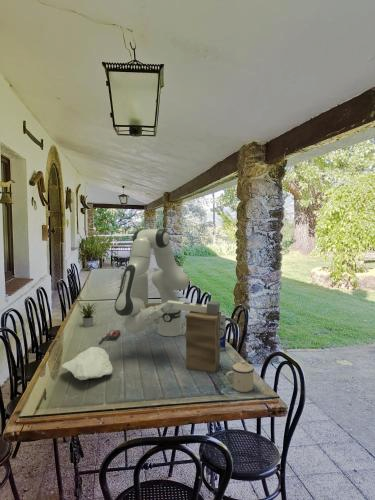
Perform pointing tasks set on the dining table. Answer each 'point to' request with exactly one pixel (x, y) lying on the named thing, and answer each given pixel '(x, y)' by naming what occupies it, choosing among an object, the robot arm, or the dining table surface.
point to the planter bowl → (152, 304)
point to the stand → (202, 341)
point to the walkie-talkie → (111, 336)
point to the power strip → (196, 307)
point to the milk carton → (222, 332)
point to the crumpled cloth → (90, 364)
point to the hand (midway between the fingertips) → (173, 303)
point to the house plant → (87, 315)
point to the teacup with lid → (242, 376)
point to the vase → (140, 287)
